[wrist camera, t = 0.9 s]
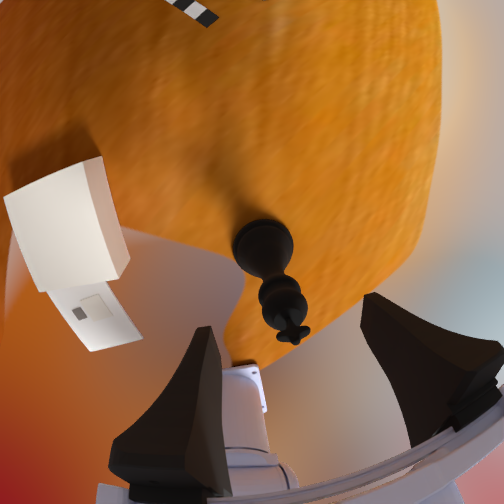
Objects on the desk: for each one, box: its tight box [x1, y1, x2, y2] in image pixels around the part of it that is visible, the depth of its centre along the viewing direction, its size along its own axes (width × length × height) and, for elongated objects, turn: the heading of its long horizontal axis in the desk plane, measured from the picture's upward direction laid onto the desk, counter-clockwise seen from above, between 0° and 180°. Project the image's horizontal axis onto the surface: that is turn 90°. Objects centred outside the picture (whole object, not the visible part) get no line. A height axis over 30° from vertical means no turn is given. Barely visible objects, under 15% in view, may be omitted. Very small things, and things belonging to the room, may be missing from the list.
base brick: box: [3, 156, 130, 292], centre depth 16 cm, size 8×8×3 cm
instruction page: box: [46, 281, 144, 352], centre depth 21 cm, size 9×7×1 cm
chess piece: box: [233, 219, 310, 345], centre depth 16 cm, size 4×4×10 cm
